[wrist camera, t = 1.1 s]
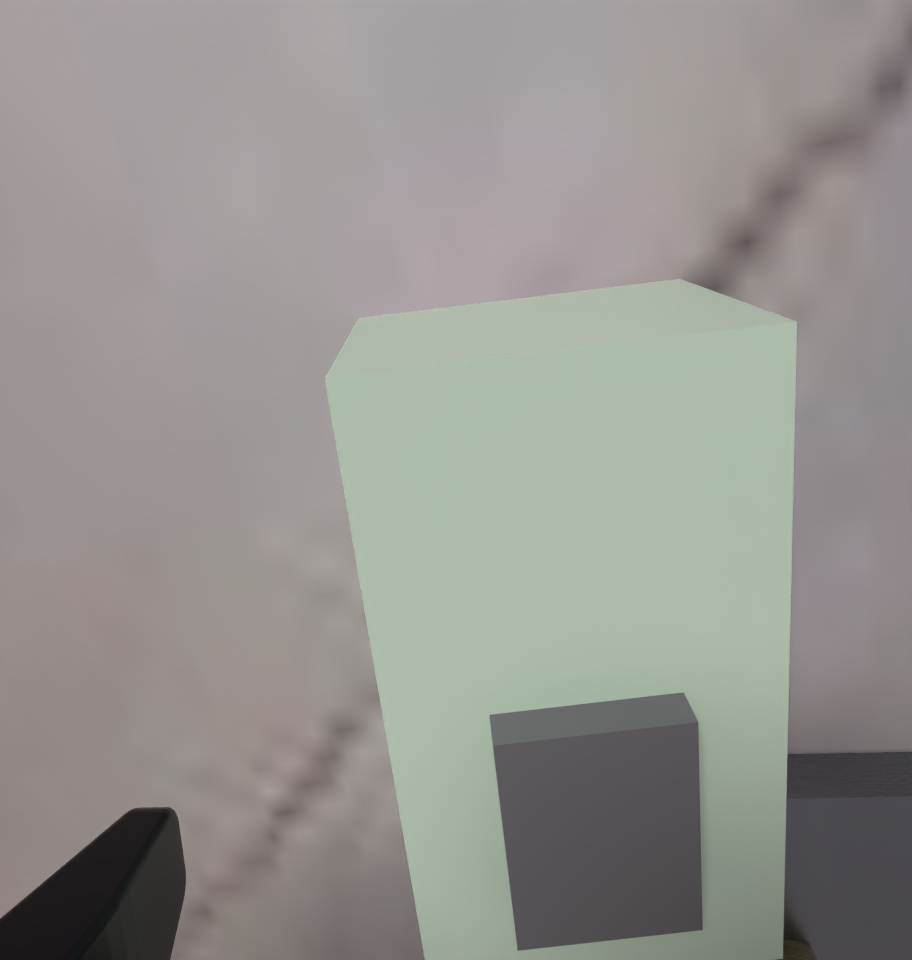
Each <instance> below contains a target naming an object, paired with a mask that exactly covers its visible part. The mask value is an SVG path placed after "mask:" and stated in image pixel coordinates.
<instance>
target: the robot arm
mask: <svg viewBox="0 0 912 960" xmlns="http://www.w3.org/2000/svg"><path fill="white" fill-rule="evenodd" d="M185 886H186V871H185V863H184V856H183V849H182V842H181V835H180V827H179V821H178V817H177V815H176V812H175V811H174V810H173V809H171V808H169V807H152V808H135V809H132V810H130V811H128V812H127V813H126V814H124V815H123V816H122V817H121V818H120V819H118V820H117V821H116V822H115V823H114V824H112V825H111V826H110V827H109V828H108V829H106V830H105V831H104V832H103V833H102V834H101V835H99V836H98V837H97V838H96V839H95V840H93V841H92V842H91V843H90V844H89V845H87V846H86V847H85V848H84V849H83V850H81V851H80V852H79V853H78V854H77V855H76V856H74V857H73V858H72V859H71V860H70V861H68V862H67V863H66V864H65V865H64V866H62V867H61V868H60V869H59V870H58V871H56V872H55V873H54V874H53V875H52V876H50V877H49V878H48V879H47V880H46V881H45V882H43V883H42V884H41V885H40V886H39V887H37V888H36V889H35V890H34V891H33V892H31V893H30V894H29V895H28V896H27V897H25V898H24V899H23V900H22V901H21V902H20V903H18V904H17V905H16V906H15V907H14V908H12V909H11V910H10V911H9V912H8V913H6V914H5V915H4V916H3V917H2V918H0V960H170V958H171V953H172V949H173V944H174V940H175V936H176V931H177V927H178V922H179V918H180V913H181V909H182V905H183V900H184V895H185Z"/></svg>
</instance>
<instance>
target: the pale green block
mask: <svg viewBox="0 0 912 960" xmlns="http://www.w3.org/2000/svg"><path fill="white" fill-rule="evenodd" d="M796 341H797V321H794V320H791V319H788V318H786V317H783V316H780V315H777V314H775V313H772V312H769V311H767V310H764V309H761V308H758V307H756V306H753V305H750V304H747V303H745V302H742V301H739V300H736V299H734V298H731V297H728V296H725V295H723V294H720V293H717V292H714V291H712V290H709V289H706V288H704V287H701V286H698V285H695V284H693V283H690V282H687V281H684V280H682V279H676V280H667V281H659V282H651V283H643V284H635V285H626V286H618V287H610V288H602V289H593V290H585V291H577V292H569V293H561V294H552V295H544V296H536V297H528V298H520V299H511V300H503V301H495V302H487V303H478V304H470V305H462V306H454V307H446V308H437V309H429V310H421V311H413V312H404V313H396V314H388V315H380V316H372V317H363V318H358V320H357V322H356V323H355V325H354V327H353V329H352V331H351V332H350V334H349V336H348V338H347V340H346V341H345V343H344V345H343V347H342V349H341V350H340V352H339V354H338V356H337V357H336V359H335V361H334V363H333V365H332V366H331V368H330V370H329V372H328V374H327V375H326V377H325V384H326V389H327V395H328V401H329V407H330V413H331V418H332V424H333V430H334V436H335V442H336V447H337V453H338V459H339V465H340V471H341V476H342V482H343V488H344V494H345V500H346V505H347V511H348V517H349V523H350V529H351V534H352V540H353V546H354V552H355V558H356V563H357V569H358V575H359V581H360V587H361V592H362V598H363V604H364V610H365V616H366V621H367V627H368V633H369V639H370V645H371V650H372V656H373V662H374V668H375V674H376V679H377V685H378V691H379V697H380V703H381V708H382V714H383V720H384V726H385V732H386V737H387V743H388V749H389V755H390V761H391V766H392V772H393V778H394V784H395V790H396V795H397V801H398V807H399V813H400V819H401V824H402V830H403V836H404V842H405V848H406V853H407V859H408V865H409V871H410V877H411V882H412V888H413V894H414V900H415V906H416V911H417V917H418V923H419V929H420V935H421V941H422V946H423V952H424V958H425V960H776V959H783V930H784V885H785V840H786V794H787V749H788V703H789V658H790V613H791V567H792V522H793V477H794V431H795V386H796Z"/></svg>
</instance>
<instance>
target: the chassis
mask: <svg viewBox="0 0 912 960" xmlns="http://www.w3.org/2000/svg"><path fill="white" fill-rule="evenodd" d="M776 960H912V752H886V753H836V754H787V794H786V840H785V885H784V930H783V959H776Z"/></svg>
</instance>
